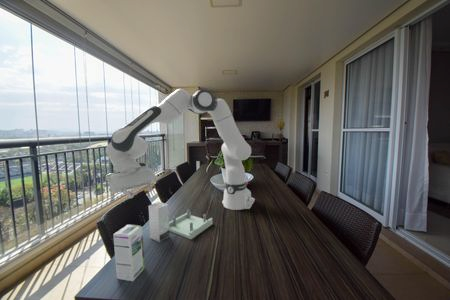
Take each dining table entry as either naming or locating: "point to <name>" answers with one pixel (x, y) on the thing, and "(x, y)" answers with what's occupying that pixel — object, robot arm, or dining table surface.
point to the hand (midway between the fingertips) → (141, 194)
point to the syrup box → (129, 252)
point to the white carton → (159, 221)
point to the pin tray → (189, 225)
